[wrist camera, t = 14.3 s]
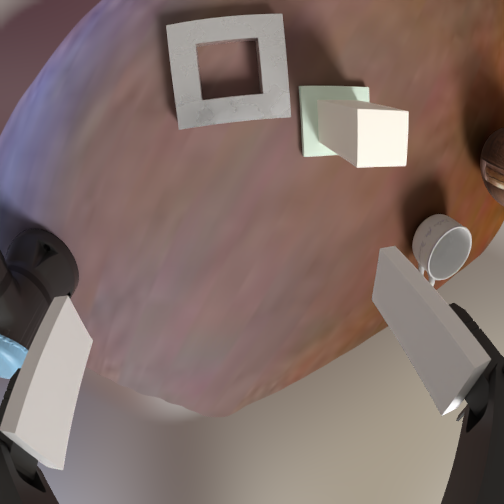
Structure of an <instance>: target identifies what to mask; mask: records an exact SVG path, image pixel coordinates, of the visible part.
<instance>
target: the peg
mask: <svg viewBox="0 0 504 504" xmlns="http://www.w3.org/2000/svg"><path fill="white" fill-rule="evenodd" d="M317 111H318V137H319V143H321V144H323V145H324V146H326V147H327V148H329V149H330V150H332V151H333V152H335V153H336V154H338V155H339V156H341V157H342V158H344V159H345V160H347V161H348V162H350V163H351V164H353V165H354V166H355V167H357V168H361V167H386V166H406V159H407V143H408V114H409V112H408V111H404V110H401V109H396V108H392V107H388V106H384V105H379V104H374V103H369V102H364V101H359V100H317Z"/></svg>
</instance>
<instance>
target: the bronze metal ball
mask: <svg viewBox="0 0 504 504" xmlns="http://www.w3.org/2000/svg"><path fill="white" fill-rule="evenodd" d="M480 168H481V174H482V178H483V181H484V184H485V186H486V188H487V190H488V191H489V193H490V194H491V195H492V197H493V198H494V199H495V200H496V201H497V202H498V203H500V204H501V205H503V206H504V128H501V129H498V130H497V131H495V132H494V133H492V134H491V135H490V136H489V138H488V139H487V140H486V142H485V144H484V146H483V149H482V152H481V158H480Z"/></svg>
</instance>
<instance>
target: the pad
mask: <svg viewBox="0 0 504 504" xmlns="http://www.w3.org/2000/svg"><path fill="white" fill-rule="evenodd" d="M299 98H300V115H301V134H302V155H303V156H304V157H310V156H327V155H338V154H336V153H335V152H333V151H332V150H330V149H329V148H327V147H326V146H324V145H323V144H321V143H319V137H318V111H317V100H359V101H364V102H369V87H354V86H299Z"/></svg>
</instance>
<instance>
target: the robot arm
mask: <svg viewBox="0 0 504 504" xmlns="http://www.w3.org/2000/svg"><path fill="white" fill-rule="evenodd" d="M78 280H79V273H78V268H77V264H76V261H75V259H74V257H73V255H72V254H71V252H70V251H69V249H68V248H67V247H66V246H65V244H64V243H63V242H62V241H60V240H59V239H58V238H57V237H55V236H54V235H52V234H51V233H49V232H46V231H44V230H40V229H28V230H25V231H23V232H21V233H20V234H19V235H18V236H17V237H16V238H15V239H14V240H13V241H12V243H11V244H10V246H9V248H8V252H7V254H6V257H5V259H4V257H3V255H2V253H1V250H0V377H2V378H8V379H10V381H9V384H8V387H7V391H6V392H5V395H4V400H2V403H1V406H0V504H59V503H58V501H57V499H56V497H55V496H54V494H53V492H52V490H51V488H50V486H49V485H48V483H47V481H46V479H45V477H44V475H43V473H42V471H41V470H40V469H39V467H38V466H37V463H38V461H39V462H41V463H42V464H44V465H45V466H47V467H49V468H55V469H60V470H63V467H64V461H65V455H66V449H67V443H68V438H69V433H70V428H71V423H72V418H73V414H74V409H75V405H76V400H77V397H78V393H79V388H80V385H81V380H82V377H83V373H84V370H85V366H86V363H87V359H88V356H89V352H90V349H91V345H92V342H93V341H92V339H91V337H90V335H89V334H88V332H87V330H86V328H85V327H84V325H83V323H82V321H81V319H80V317H79V316H78V314H77V312H76V310H75V308H74V306H73V304H72V302H71V300H70V298H71V297H72V295H73V293H74V291H75V289H76V287H77V285H78ZM372 301H373V302H374V304H375V305H376V307H377V308H378V310H379V312H380V313H381V315H382V316H383V318H384V319H385V321H386V322H387V324H388V326H389V327H390V329H391V330H392V332H393V333H394V335H395V337H396V338H397V340H398V341H399V343H400V345H401V346H402V348H403V350H404V351H405V353H406V355H407V356H408V358H409V360H410V361H411V363H412V365H413V366H414V368H415V370H416V371H417V373H418V375H419V376H420V378H421V380H422V382H423V383H424V385H425V387H426V389H427V390H428V392H429V394H430V396H431V397H432V399H433V401H434V403H435V405H436V407H437V408H438V410H439V412H440V414H441V415H444V414H446V413H448V412H450V411H452V410H454V409H456V408H458V406H459V405H460V404H461V402H462V401H463V400H464V399H465V400H466V402H467V403H468V404H467V406H466V407H465V408H464V409H463V411H462V412H461V413H460V414H459V415H458V418H457V420H456V421H459V420H460V419H461V418H462V417H463V416H464V418H463V421H462V422H463V423H462V429H461V434H460V438H459V443H458V447H457V451H456V455H455V459H454V463H453V467H452V470H451V474H450V478H449V481H448V484H447V487H446V490H445V493H444V496H443V499H442V502H441V504H504V357H503V356H502V355H501V354H500V353H499V351H498V350H497V349H496V348H495V346H494V345H493V344H492V342H491V341H490V340H489V339H488V337H487V336H486V335H485V334H484V332H483V331H482V330H481V329H479V326H478V325H477V324H476V322H475V321H473V319H472V318H471V317H470V315H469V314H468V313H467V312H466V311H465V310H464V309H463V308H461V307H460V306H458V305H457V304H455V303H452V304H449V305H448V304H447V303H446V301H445V300H444V299H443V298H442V297H441V296H440V294H439V293H438V292H437V291H436V290H435V289H434V287H433V286H432V285H431V284H430V283H429V282H428V281H427V280H426V279H425V277H424V276H423V275H422V274H421V273H420V272H419V271H418V270H417V269H416V268H415V266H414V265H413V264H412V263H411V262H410V261H409V260H408V259H407V258H406V257H405V256H404V255H403V254H402V253H401V252H400V251H399V250H398V249H397V248H396V246H392V247H386V248H381V249H380V252H379V259H378V265H377V272H376V278H375V284H374V289H373V295H372Z"/></svg>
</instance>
